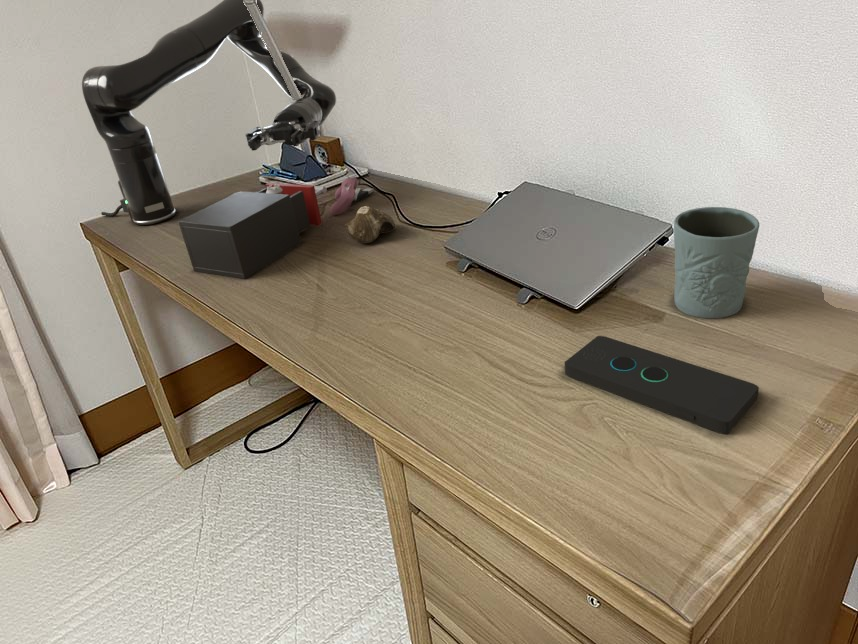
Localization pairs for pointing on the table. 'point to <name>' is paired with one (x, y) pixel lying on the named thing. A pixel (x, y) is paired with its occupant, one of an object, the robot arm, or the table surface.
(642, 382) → the smart home device
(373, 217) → the fossilized seashell
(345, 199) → the pink irregular lump
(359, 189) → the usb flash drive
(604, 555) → the table surface
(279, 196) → the dark grey box
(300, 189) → the drawer
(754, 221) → the grey-green embossed cup
